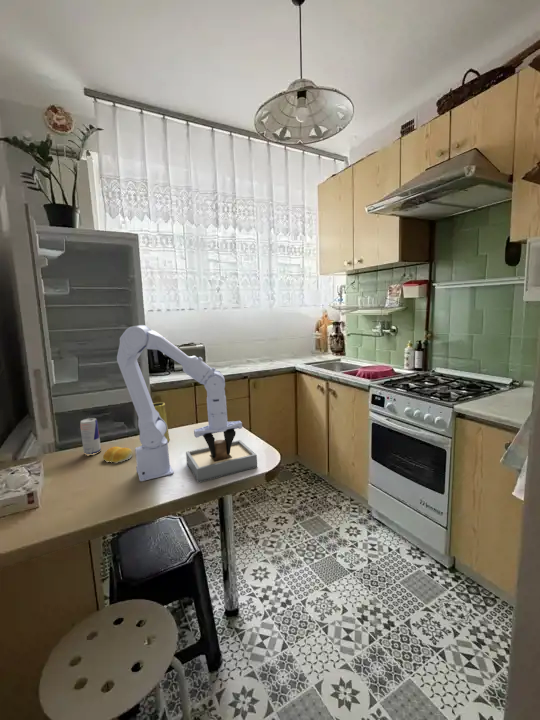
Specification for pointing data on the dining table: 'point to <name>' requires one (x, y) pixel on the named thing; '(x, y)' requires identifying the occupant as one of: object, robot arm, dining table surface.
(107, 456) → the bread roll
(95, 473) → the dining table surface
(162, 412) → the vase
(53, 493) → the dining table surface
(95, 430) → the energy drink
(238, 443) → the socket box
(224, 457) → the walnut peg
